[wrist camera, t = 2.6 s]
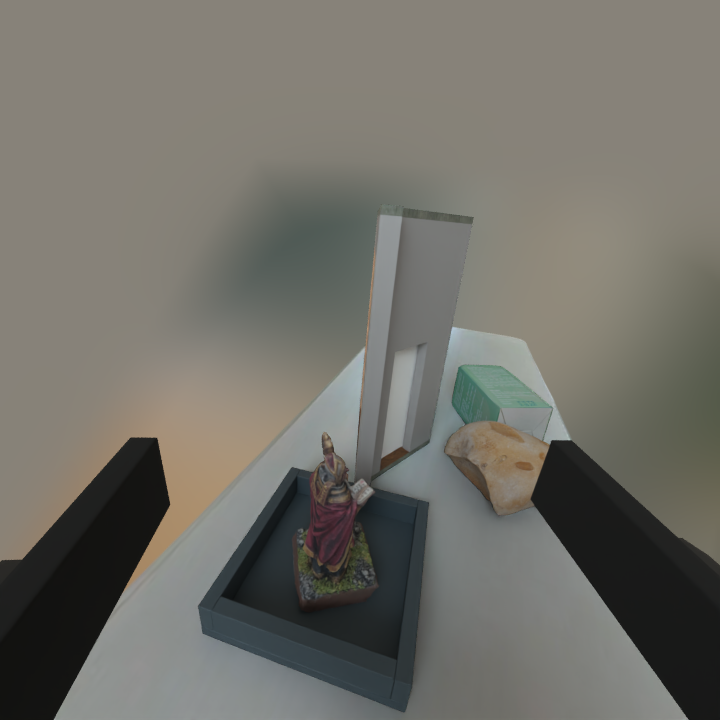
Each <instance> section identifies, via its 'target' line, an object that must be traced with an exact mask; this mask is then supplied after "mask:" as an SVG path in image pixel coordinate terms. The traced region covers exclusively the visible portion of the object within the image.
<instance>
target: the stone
mask: <svg viewBox="0 0 720 720" xmlns="http://www.w3.org/2000/svg"><path fill="white" fill-rule="evenodd" d="M549 446H550V445H549V444H547V443H545V442H543V441H541V440H540V439H538V438H536V437H534V436H531V435H529V434H527V433H525V432H522V431H520V430H518V429H516V428H514V427H511V426H509V425H507V424H503V423H500V422H496V421H477V422H472V423H469V424H466V425H464V426H462V427H461V428H460V429H459V430H457V431H456V432H455V433H454V434H452V436H451V437H450V438H449V440H448V442H447V444H446V446H445V450H444V452H445V453H446V454H447V455H449V457H450V458H451V459H452V461H453V462H454V464H455V465H456V466H457V467H458V468H459V469H460V470H461V471H462V473H463V474H464V475H465V476H466V477H467V478H468V479H469V480H471V482H472V483H473V484H474V485H475V486H476V487H477V488H478V489H479V490H480V491H481V492H482V493H483V495H484V496H485V497H486V499H488V500H489V501H491V502H492V505H493V509H494V511H495V512H496V513H497V514H499V515H509V514H513V513H516V512H518V511H521V510H524V509H527V508H530V507H533V506H535V505H534V504H533V502H532V501H531V500H530V499H531V496H532V493H533V490H534V488H535V485H536V482H537V479H538V477H539V474H540V471H541V468H542V466H543V463H544V460H545V457H546V455H547V452H548V449H549Z"/></svg>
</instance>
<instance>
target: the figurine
mask: <svg viewBox="0 0 720 720" xmlns="http://www.w3.org/2000/svg"><path fill="white" fill-rule="evenodd" d="M322 448H323V454H324V455H325V457H324V461H323V462H321V463H320V464H319V465H318V466H317V468H316V470H315V471H314V472H313V473H312V474H311V477H310V479H309V483H310V498H311V512H310V514H311V523H310V524H309V529H303V528H300V529H298V530H297V531H296V533H295V535H294V536H293V537H292V547H293V565H294V576H295V585H296V586H295V588H296V590H297V594H298V597H299V605H298V606H299V607H300V608H301V610H303V611H305V612H308V613H309V612H314V611H319V610H320V611H321V610H324V609H328V608H335V607H339V606H340V607H341V606H344V605H349V604H355V603H360V602H361V603H362V602H366V601H367V599H368V598H369V597H370V596H371V594H372V593H373V591H375V589H377V588H378V587H379V585H378V583H377V575H376V573H375V570H374V567H373V563H372V559H371V555H370V551H369V547H368V544H367V540H366V537H365V533H364V530H363V526H362V524H361V523H359V522H355V517H356V515H357V513H358V511H359V510H360V509H361V507H362V506H364V504H365V503H366V502H367V500H368V499H369V498H370V497H371V496H372V495H373V494H374V493H375V491H374V490H373V489H372V488H371V487H369V485H368V484H366V482H365V481H364V479H362V478H361V479H359V480H358V481H357V482H356V483H355V484H354V485H352V486H350V485H349V483H348V474H347V473H346V472H347V471H349V469H348V468H346V466H345V462H344V460H343V459H342V458H341V457H339V456H338V455H336V454H335V452H334V448H333V445H332V442H331V438H330V437H329V436H328V434H327V433H326V432H324V433H323V435H322Z"/></svg>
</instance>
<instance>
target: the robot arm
mask: <svg viewBox="0 0 720 720" xmlns="http://www.w3.org/2000/svg"><path fill="white" fill-rule="evenodd" d="M530 500H531V501H532V502H533V504H534V505H535V507H536V508H537V509H538V511H539V512H540V514H541V515H542V516H543V518H544V519H545V520H546V522H547V523H548V525H549V526H550V527H551V529H552V530H553V532H554V533H555V534H556V536H557V537H558V539H559V540H560V541H561V543H562V544H563V546H564V547H565V548H566V550H567V551H568V552H569V554H570V555H571V557H572V558H573V559H574V561H575V562H576V564H577V565H578V566H579V568H580V569H581V571H582V572H583V573H584V575H585V576H586V578H587V579H588V580H589V582H590V583H591V584H592V586H593V587H594V589H595V590H596V591H597V593H598V594H599V596H600V597H601V598H602V600H603V601H604V603H605V604H606V605H607V607H608V608H609V610H610V611H611V612H612V614H613V615H614V616H615V618H616V619H617V621H618V622H619V623H620V625H621V626H622V628H623V629H624V630H625V632H626V633H627V635H628V636H629V637H630V639H631V640H632V641H633V643H634V644H635V646H636V647H637V648H638V650H639V651H640V653H641V654H642V655H643V657H644V658H645V660H646V661H647V662H648V664H649V665H650V667H651V668H652V669H653V671H654V672H655V673H656V675H657V676H658V678H659V679H660V680H661V682H662V683H663V685H664V686H665V687H666V689H667V690H668V692H669V693H670V694H671V696H672V697H673V699H674V700H675V701H676V703H677V704H678V705H679V707H680V708H681V710H682V711H683V712H684V714H685V715H686V717H687V718H688V719H689V720H720V565H719V564H718V563H716V562H715V561H714V560H713V559H712V558H711V557H710V556H708V555H707V554H706V553H704V552H702V551H701V550H699V549H698V548H696V547H695V546H693V545H692V544H690V543H689V542H687V541H686V540H684V539H683V538H678V537H676V536H675V535H674V534H673V533H672V532H671V531H670V530H669V529H668V528H667V527H666V526H664V525H663V524H662V523H661V522H660V521H659V520H658V519H657V518H656V517H655V516H653V515H652V514H651V513H650V512H649V511H648V510H647V509H646V508H645V507H643V505H641V504H640V503H639V502H638V501H637V500H636V499H635V498H634V497H633V496H632V495H631V494H629V493H628V492H627V491H626V490H625V489H624V488H623V487H622V486H621V485H620V484H619V483H617V482H616V481H615V480H614V479H613V478H612V477H611V476H610V475H609V474H608V473H606V472H605V471H604V470H603V469H602V468H601V467H600V466H599V465H598V464H597V463H596V462H595V461H593V460H592V459H591V458H590V457H589V456H588V455H587V454H586V453H584V452H583V450H581V449H580V448H579V447H578V446H577V445H576V444H575V443H574V442H573V441H572V440H552V441H551V444H550V446H549V449H548V452H547V455H546V457H545V460H544V463H543V466H542V468H541V471H540V474H539V477H538V479H537V482H536V485H535V488H534V490H533V493H532V496H531V499H530ZM169 506H170V501H169V496H168V491H167V486H166V481H165V475H164V470H163V465H162V460H161V455H160V450H159V444H158V440H157V438H130V439H129V440H128V441H127V442H126V443H125V444H124V446H123V447H122V448H121V449H120V450H119V452H117V453H116V455H115V456H114V457H113V458H112V459H111V460H110V461H109V463H108V464H107V465H106V466H105V467H104V468H103V469H102V471H100V473H99V474H98V475H97V476H96V477H95V478H94V479H93V481H92V482H91V483H90V484H89V485H88V486H87V487H86V488H85V490H84V491H83V492H82V493H81V494H80V495H79V496H78V497H77V499H76V500H75V501H74V502H73V503H72V504H71V505H70V507H69V508H68V509H67V510H66V511H65V512H64V513H63V514H62V515H61V517H60V518H59V519H58V520H57V521H56V522H55V523H54V524H53V526H52V527H51V528H50V529H49V530H48V531H47V532H46V534H45V535H44V536H43V537H42V538H41V539H40V540H39V541H38V543H37V544H36V545H35V546H34V547H33V548H32V549H31V550H30V552H29V553H28V554H27V555H26V556H25V557H24V558H23V559H22V560H2V561H1V562H0V720H54V718H55V716H56V714H57V712H58V710H59V709H60V707H61V705H62V703H63V701H64V699H65V698H66V696H67V694H68V692H69V690H70V688H71V686H72V685H73V683H74V681H75V679H76V677H77V675H78V674H79V672H80V670H81V668H82V666H83V664H84V663H85V661H86V659H87V657H88V655H89V653H90V651H91V650H92V648H93V646H94V644H95V642H96V640H97V639H98V637H99V635H100V633H101V631H102V629H103V628H104V626H105V624H106V622H107V620H108V618H109V616H110V615H111V613H112V611H113V609H114V607H115V605H116V604H117V602H118V600H119V598H120V596H121V594H122V593H123V591H124V589H125V587H126V585H127V583H128V581H129V580H130V578H131V576H132V574H133V572H134V570H135V569H136V567H137V565H138V563H139V561H140V559H141V557H142V556H143V554H144V552H145V550H146V548H147V547H148V545H149V543H150V541H151V539H152V537H153V535H154V534H155V532H156V530H157V528H158V526H159V524H160V522H161V521H162V519H163V517H164V515H165V513H166V512H167V510H168V508H169Z"/></svg>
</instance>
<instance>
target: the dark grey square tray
mask: <svg viewBox="0 0 720 720" xmlns="http://www.w3.org/2000/svg"><path fill="white" fill-rule="evenodd" d="M312 473H313V472H309V471H305V470H300V469H297V468H293V467H292V468H291V469H290V471H289V472H288V474H287V475H286V477H285V478H284V480H283V481H282V483H281V484H280V486H279V487H278V489H277V490H276V492H275V493H274V495H273V496H272V497H271V499H270V500H269V502H268V503H267V505H266V506H265V508H264V509H263V511H262V512H261V514H260V515H259V517H258V518H257V520H256V521H255V523H254V524H253V526H252V527H251V529H250V530H249V532H248V533H247V535H246V536H245V538H244V539H243V540H242V542H241V543H240V545H239V546H238V548H237V549H236V551H235V552H234V554H233V555H232V557H231V558H230V560H229V561H228V563H227V564H226V566H225V567H224V569H223V570H222V572H221V573H220V575H219V576H218V578H217V579H216V581H215V582H214V583H213V585H212V586H211V588H210V589H209V591H208V592H207V594H206V595H205V597H204V598H203V600H202V601H201V603H200V604H199V606H198V609H199V614H200V620H201V626H202V632H203V634H205V635H208V636H210V637H213V638H215V639H218V640H221V641H223V642H226V643H228V644H231V645H233V646H236V647H238V648H241V649H244V650H246V651H249V652H251V653H254V654H256V655H259V656H261V657H264V658H267V659H269V660H272V661H274V662H277V663H279V664H282V665H284V666H287V667H290V668H292V669H295V670H297V671H300V672H302V673H305V674H307V675H310V676H313V677H315V678H318V679H320V680H323V681H325V682H328V683H330V684H333V685H335V686H338V687H341V688H343V689H346V690H348V691H351V692H353V693H356V694H358V695H361V696H364V697H366V698H369V699H371V700H374V701H376V702H379V703H381V704H384V705H387V706H389V707H392V708H394V709H397V710H399V711H402V712H405V710H406V707H407V703H408V699H409V695H410V692H411V688H412V681H413V670H414V659H415V648H416V637H417V626H418V615H419V604H420V593H421V583H422V572H423V561H424V550H425V539H426V528H427V517H428V506H429V502H426V501H422V500H417V499H414V498H410V497H406V496H402V495H398V494H394V493H390V492H386V491H383V490H379V489H375V488H372V489H373V490H374V491H375V493H374V494H373V495H372V496H371V497H370V498H369V499H368V500H367V502H366V503H365V504H364V506H362V507H361V509H360V510H359V511H358V513H357V515H356V517H355V522H359V523H361V524H362V526H363V530H364V533H365V537H366V540H367V544H368V547H369V551H370V555H371V559H372V563H373V567H374V570H375V573H376V575H377V583H378V585H379V587H378V588H377V589H375V591H373V593H372V594H371V596H370V597H369V598H368V599H367V601H366V602H362V603H361V602H360V603H355V604H349V605H344V606H341V607H340V606H339V607H335V608H328V609H324V610H321V611H320V610H319V611H314V612H309V613H308V612H305V611H303V610H301V608H300V607H299V606H298V605H299V597H298V594H297V590H296V588H295V586H296V585H295V576H294V565H293V547H292V537H293V536H294V535H295V533H296V531H297V530H298V529H300V528H303V529H309V524H310V523H311V514H310V512H311V498H310V483H309V479H310V477H311V474H312ZM348 483H349V485H350V486H352V485H354V484H355V483H352V482H348Z"/></svg>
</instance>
